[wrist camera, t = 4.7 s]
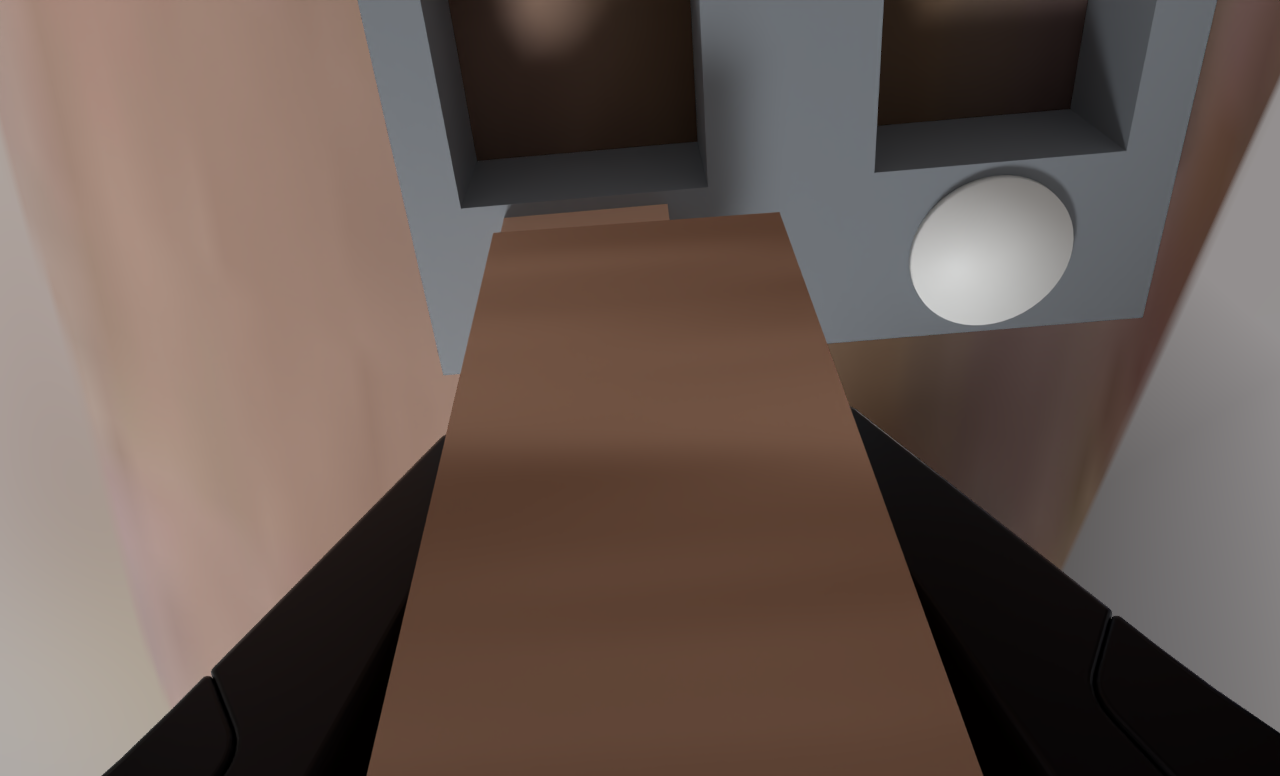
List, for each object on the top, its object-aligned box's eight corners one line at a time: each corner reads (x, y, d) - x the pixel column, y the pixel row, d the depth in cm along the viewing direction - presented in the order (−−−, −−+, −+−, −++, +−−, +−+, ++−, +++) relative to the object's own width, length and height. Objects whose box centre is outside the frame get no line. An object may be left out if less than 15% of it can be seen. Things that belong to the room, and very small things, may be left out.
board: (1090, 262, 21) (1223, 401, 16) (459, 315, 21) (418, 466, 17) (1183, -220, 16) (1410, -214, 12) (364, -142, 17) (269, -105, 12)
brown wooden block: (776, 440, 12) (994, 1358, 5) (530, 456, 12) (429, 1388, 5) (779, 211, 10) (1114, 1141, 3) (493, 233, 10) (269, 1191, 3)
